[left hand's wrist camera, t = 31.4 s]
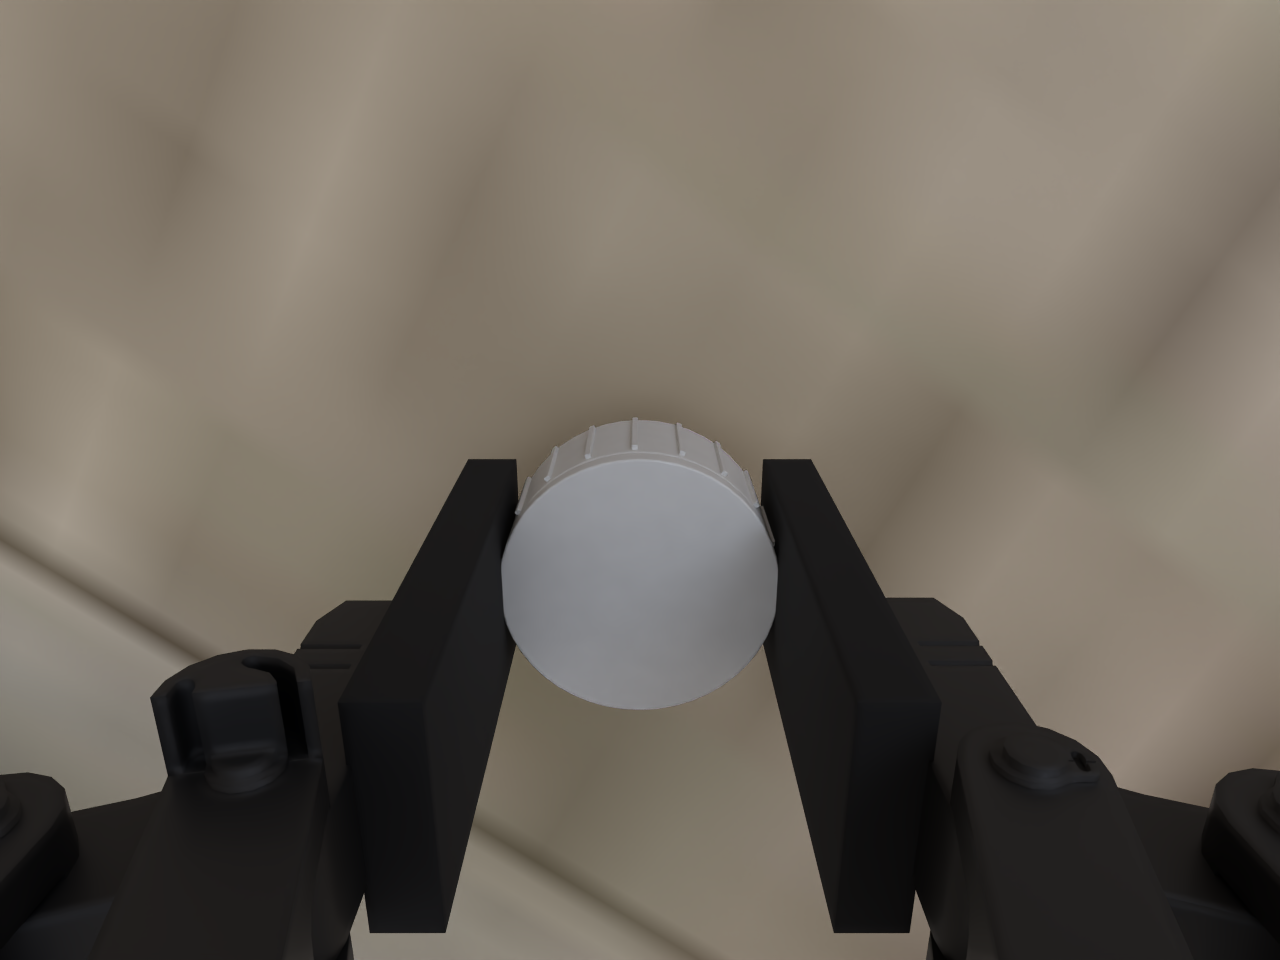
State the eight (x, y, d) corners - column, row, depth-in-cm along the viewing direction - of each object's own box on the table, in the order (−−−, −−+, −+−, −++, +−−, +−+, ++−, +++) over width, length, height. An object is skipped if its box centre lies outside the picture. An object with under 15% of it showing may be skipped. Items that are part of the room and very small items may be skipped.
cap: (810, 578, 15) (833, 637, 13) (596, 686, 15) (591, 756, 14) (688, 368, 13) (696, 401, 12) (463, 495, 14) (437, 545, 12)
